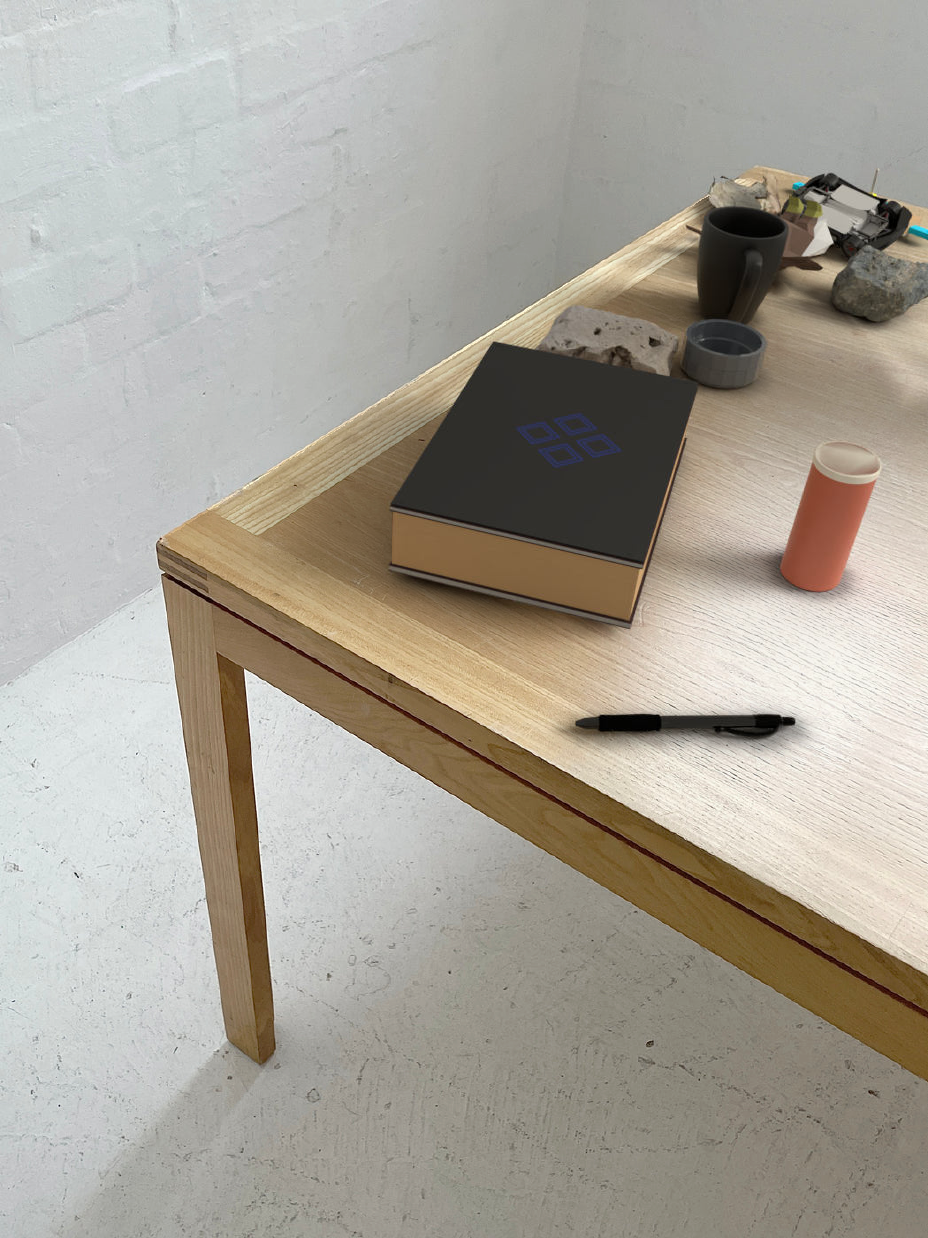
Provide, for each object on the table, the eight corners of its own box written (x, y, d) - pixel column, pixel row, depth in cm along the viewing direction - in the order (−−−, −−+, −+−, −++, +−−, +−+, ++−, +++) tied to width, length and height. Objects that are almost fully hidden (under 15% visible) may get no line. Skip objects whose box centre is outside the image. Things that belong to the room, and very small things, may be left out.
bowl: (750, 354, 109) (758, 321, 107) (765, 393, 103) (774, 359, 101) (674, 350, 109) (681, 316, 106) (684, 389, 103) (692, 354, 101)
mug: (689, 345, 110) (709, 250, 103) (683, 291, 119) (701, 201, 112) (774, 353, 109) (799, 259, 103) (762, 299, 118) (784, 209, 112)
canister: (832, 555, 85) (872, 442, 79) (847, 594, 82) (889, 478, 75) (773, 552, 85) (808, 438, 79) (786, 590, 82) (823, 475, 75)
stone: (682, 406, 100) (674, 357, 108) (688, 345, 96) (679, 299, 104) (533, 406, 101) (535, 358, 109) (533, 346, 97) (535, 300, 105)
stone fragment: (690, 240, 130) (705, 277, 132) (760, 216, 125) (775, 255, 128) (717, 163, 142) (731, 199, 144) (782, 139, 137) (795, 176, 140)
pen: (801, 731, 70) (795, 741, 71) (795, 708, 71) (789, 718, 72) (579, 734, 68) (576, 743, 69) (576, 710, 69) (573, 720, 70)
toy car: (921, 212, 125) (920, 241, 129) (816, 164, 133) (818, 193, 137) (874, 254, 124) (874, 282, 128) (771, 203, 133) (774, 232, 136)
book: (387, 579, 80) (389, 502, 76) (486, 410, 98) (492, 340, 94) (628, 638, 77) (644, 561, 72) (684, 451, 95) (699, 381, 91)
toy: (885, 292, 122) (906, 228, 117) (762, 312, 116) (779, 246, 111) (796, 235, 132) (812, 174, 128) (680, 251, 127) (692, 188, 122)
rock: (872, 342, 114) (893, 297, 110) (805, 291, 119) (824, 247, 116) (952, 324, 119) (975, 281, 116) (886, 277, 125) (905, 234, 122)
